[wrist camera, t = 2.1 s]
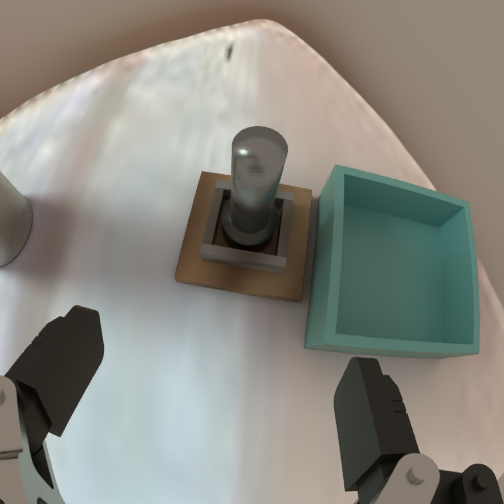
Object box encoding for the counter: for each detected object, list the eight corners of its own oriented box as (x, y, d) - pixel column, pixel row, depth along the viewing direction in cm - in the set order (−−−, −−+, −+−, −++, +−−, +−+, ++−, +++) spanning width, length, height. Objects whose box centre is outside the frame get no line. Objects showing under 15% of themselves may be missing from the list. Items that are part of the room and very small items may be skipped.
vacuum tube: (217, 249, 28) (211, 172, 17) (227, 204, 30) (228, 113, 18) (269, 258, 28) (296, 186, 17) (276, 212, 30) (302, 125, 18)
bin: (303, 348, 27) (323, 343, 21) (318, 197, 32) (335, 164, 26) (441, 358, 27) (478, 353, 21) (439, 225, 32) (468, 202, 26)
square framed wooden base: (176, 281, 28) (170, 271, 25) (202, 177, 32) (200, 159, 29) (298, 302, 28) (306, 294, 25) (309, 195, 32) (316, 179, 29)
